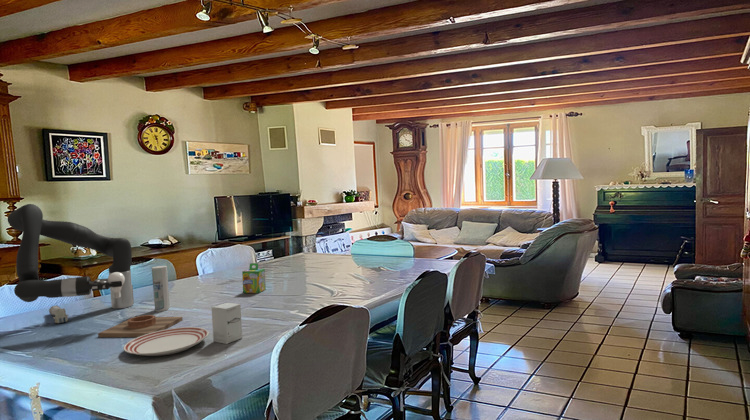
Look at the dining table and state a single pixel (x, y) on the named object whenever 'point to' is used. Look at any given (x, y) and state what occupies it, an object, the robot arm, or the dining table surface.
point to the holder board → (139, 331)
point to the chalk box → (254, 279)
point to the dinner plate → (166, 341)
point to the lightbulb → (116, 277)
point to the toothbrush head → (58, 314)
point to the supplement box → (226, 323)
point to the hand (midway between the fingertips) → (122, 282)
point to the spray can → (160, 288)
